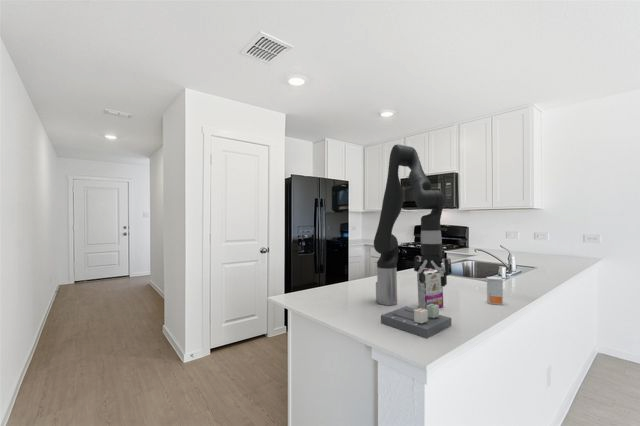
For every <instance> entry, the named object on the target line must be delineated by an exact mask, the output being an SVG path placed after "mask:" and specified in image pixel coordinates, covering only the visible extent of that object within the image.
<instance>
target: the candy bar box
mask: <svg viewBox="0 0 640 426" xmlns="http://www.w3.org/2000/svg"><path fill="white" fill-rule="evenodd" d="M424 273H425V283H420V281H419V273H418V272H417V273H416V274H417V275H416V276H417V278H416V279H417V298H418V299H417V300H418V302H417V303H418V309H419V308H422V309H426V306H427V305H430V304H435V305H439V309H440V308H444V290H443V287H442V286H441V275H440V273H439V272H438V271H437V270H436V269H431V270H430V269H429V270H425V271H424Z"/></svg>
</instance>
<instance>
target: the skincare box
mask: <svg viewBox="0 0 640 426" xmlns="http://www.w3.org/2000/svg"><path fill="white" fill-rule="evenodd" d="M503 287H504V285H503V278H502V277H499V276H486V302H487V304H488V305H499V306H503V305H504V303H503V302H504V301H503V298H504V297H503V294H504V293H503V291H504V289H503Z"/></svg>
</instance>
